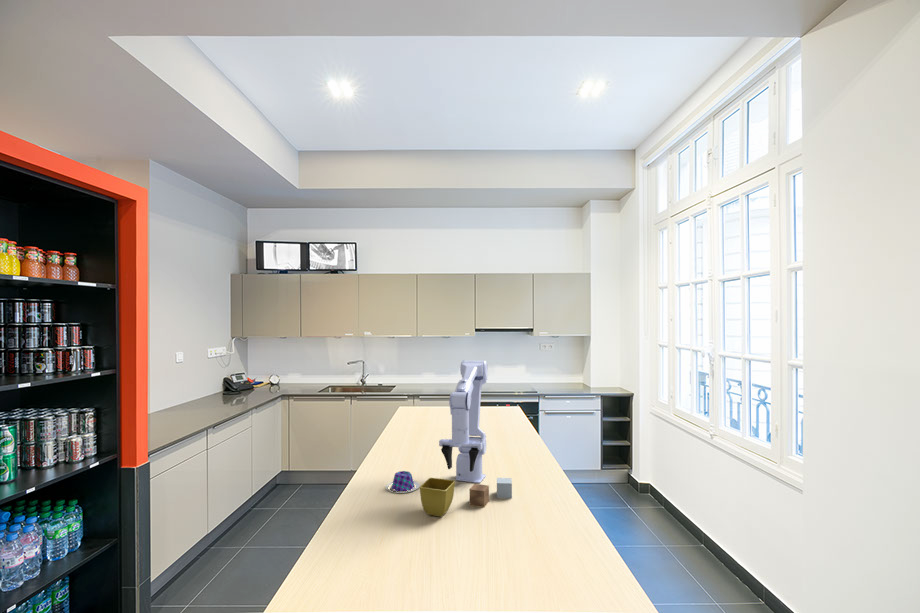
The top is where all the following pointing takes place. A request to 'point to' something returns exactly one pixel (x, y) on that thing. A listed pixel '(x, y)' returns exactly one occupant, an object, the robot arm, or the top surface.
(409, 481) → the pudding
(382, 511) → the top surface
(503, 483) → the slate-grey cube
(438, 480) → the flower pot
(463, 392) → the robot arm
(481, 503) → the walnut cube
